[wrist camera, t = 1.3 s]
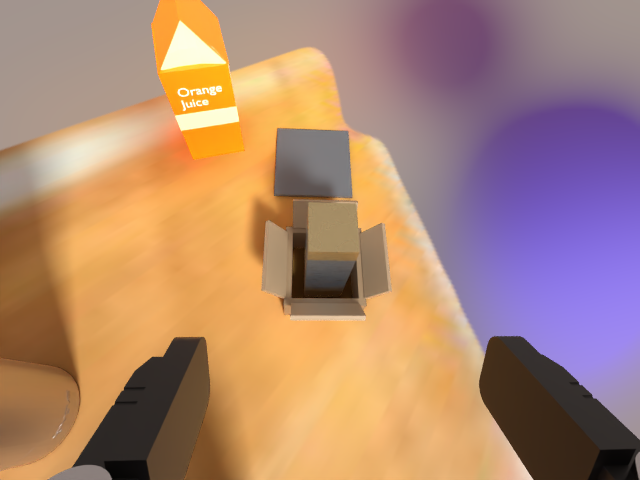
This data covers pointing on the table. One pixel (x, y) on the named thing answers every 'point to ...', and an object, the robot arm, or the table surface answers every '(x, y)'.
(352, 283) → the carton
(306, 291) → the tall two-tone pillar
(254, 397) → the table surface
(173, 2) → the orange juice
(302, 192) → the felt mat
